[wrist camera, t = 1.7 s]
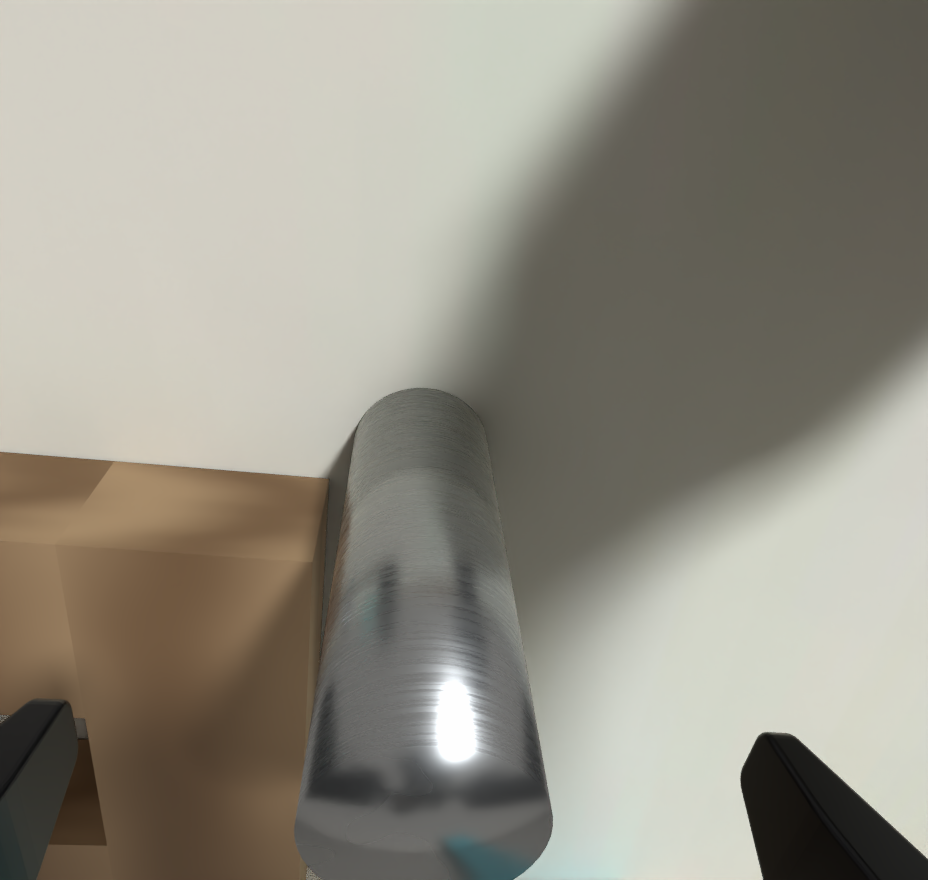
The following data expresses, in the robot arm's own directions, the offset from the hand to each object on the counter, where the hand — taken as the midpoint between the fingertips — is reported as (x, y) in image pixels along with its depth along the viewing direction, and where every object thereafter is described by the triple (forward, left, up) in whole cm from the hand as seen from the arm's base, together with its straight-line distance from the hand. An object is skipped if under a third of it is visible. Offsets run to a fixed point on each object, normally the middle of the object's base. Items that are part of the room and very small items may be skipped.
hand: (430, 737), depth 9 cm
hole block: (+9, +8, -8) cm, 14 cm away
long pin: (0, 0, -8) cm, 8 cm away
